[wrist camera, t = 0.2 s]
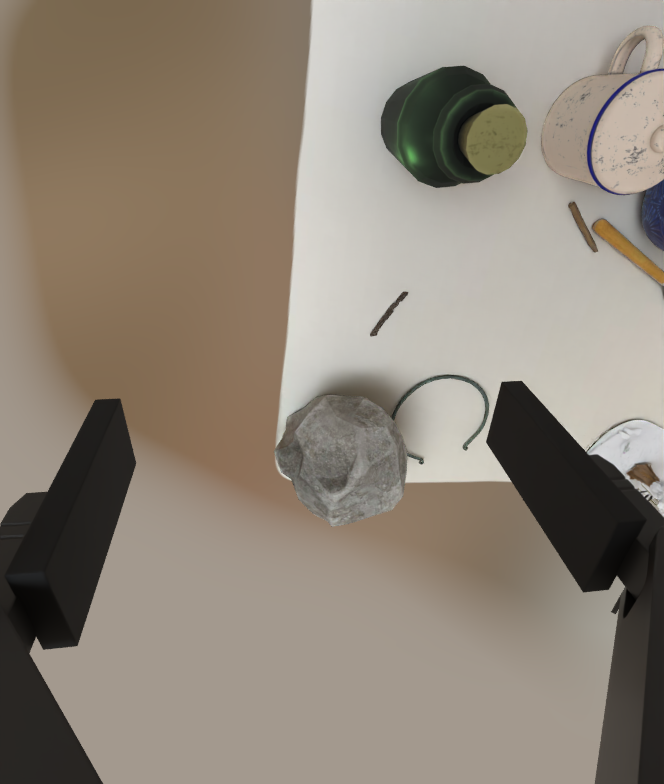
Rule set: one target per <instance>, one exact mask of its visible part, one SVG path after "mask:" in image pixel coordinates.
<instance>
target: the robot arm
mask: <svg viewBox="0 0 664 784" xmlns="http://www.w3.org/2000/svg"><path fill="white" fill-rule="evenodd" d="M486 443H487V444H488V446H489V447H490V449H491V450H492V452H493V454H494V455H495V457H496V458H497V460H498V461H499V463H500V464H501V466H502V467H503V469H504V471H505V472H506V474H507V475H508V477H509V478H510V480H511V481H512V483H513V484H514V486H515V488H516V489H517V490H518V492H519V494H520V495H521V497H522V498H523V500H524V501H525V503H526V504H527V506H528V507H529V509H530V511H531V512H532V514H533V515H534V517H535V518H536V520H537V521H538V523H539V525H540V526H541V528H542V529H543V531H544V532H545V534H546V535H547V537H548V539H549V540H550V542H551V543H552V545H553V546H554V548H555V549H556V551H557V552H558V553H559V556H560V557H561V559H562V560H563V562H564V563H565V565H566V566H567V568H568V569H569V571H570V573H571V574H572V575H573V577H574V579H575V580H576V582H577V583H578V585H579V586H580V588H581V590H582V591H583V592H591V591H600V590H609V588H610V587H611V585H612V583H613V581H614V579H615V577H616V576H618V577H619V579H620V580H621V581H622V583H623V584H624V585H625V588H624V590H623V592H622V593H621V595H620V597H619V599H618V601H617V602H616V604H615V606H614V608H613V610H612V611H611V612H612V613H614V614H616V613H617V611H618V609H619V613H618V620H617V627H616V635H615V642H614V649H613V656H612V663H611V670H610V679H609V685H608V692H607V699H606V706H605V714H604V721H603V728H602V735H601V742H600V750H599V757H598V764H597V771H596V778H595V784H664V517H663V516H662V515H661V514H660V513H659V512H658V511H657V510H656V509H655V508H654V507H653V506H652V504H651V503H650V502H649V501H648V500H647V499H646V498H645V497H644V496H643V495H642V494H641V493H640V492H639V491H638V490H637V489H635V487H634V485H633V484H632V483H631V482H630V481H629V480H628V479H625V476H624V475H623V474H622V473H621V472H620V471H619V470H618V469H617V467H616V466H615V465H614V464H612V463H610V462H609V461H607V460H606V459H604V458H603V457H601V456H600V455H598V454H593V455H588V454H587V453H586V452H585V450H584V449H583V448H582V447H581V446H580V445H579V444H578V443H577V442H576V440H575V439H574V438H573V437H572V436H571V435H570V434H569V433H568V432H567V431H566V429H565V428H564V427H563V426H562V425H561V424H560V423H559V422H558V421H557V419H556V418H555V417H554V416H553V415H552V414H551V413H550V412H549V411H548V409H547V408H546V407H545V406H544V405H543V404H542V403H541V402H540V401H539V400H538V398H537V397H536V396H535V395H534V394H533V393H532V392H531V391H530V390H529V388H528V387H527V386H526V385H525V384H524V383H523V382H522V381H510V382H502V383H501V387H500V391H499V395H498V398H497V402H496V406H495V410H494V414H493V418H492V422H491V425H490V429H489V433H488V437H487V441H486ZM135 466H136V461H135V457H134V453H133V448H132V444H131V440H130V436H129V432H128V428H127V424H126V420H125V416H124V412H123V408H122V404H121V400H120V399H102V400H95V401H94V403H93V405H92V407H91V409H90V411H89V413H88V415H87V417H86V419H85V421H84V423H83V425H82V427H81V428H80V430H79V432H78V434H77V436H76V438H75V440H74V442H73V444H72V446H71V448H70V450H69V452H68V454H67V455H66V457H65V459H64V461H63V463H62V465H61V467H60V469H59V471H58V473H57V475H56V477H55V479H54V480H53V483H52V484H51V487H50V488H49V490H48V492H38V493H26V494H25V495H24V496H23V497H22V498H20V499H19V500H18V501H17V502H16V503H15V504H14V505H13V506H12V507H10V509H9V510H8V512H7V514H6V515H5V517H4V519H3V520H2V522H1V526H0V784H103V783H102V781H101V779H100V778H99V776H98V774H97V772H96V770H95V769H94V767H93V765H92V763H91V762H90V760H89V758H88V756H87V755H86V753H85V751H84V749H83V747H82V746H81V744H80V742H79V740H78V739H77V737H76V735H75V733H74V732H73V730H72V728H71V726H70V725H69V723H68V721H67V719H66V718H65V716H64V714H63V712H62V710H61V709H60V707H59V705H58V704H57V702H56V700H55V698H54V696H53V695H52V693H51V691H50V689H49V688H48V686H47V684H46V682H45V681H44V679H43V677H42V675H41V674H40V672H39V670H38V668H37V666H36V665H35V663H34V662H33V659H32V658H31V656H30V654H29V653H30V650H31V648H32V645H33V643H34V640H35V638H36V637H37V639H38V640H39V642H40V644H41V646H42V648H43V649H44V650H45V649H53V648H63V647H72V646H77V645H78V642H79V640H80V636H81V633H82V630H83V627H84V624H85V621H86V618H87V615H88V612H89V608H90V605H91V602H92V599H93V596H94V593H95V590H96V587H97V584H98V580H99V577H100V574H101V571H102V568H103V565H104V562H105V559H106V556H107V552H108V549H109V546H110V543H111V540H112V537H113V534H114V531H115V528H116V525H117V522H118V518H119V515H120V512H121V509H122V506H123V503H124V500H125V497H126V494H127V490H128V487H129V484H130V481H131V478H132V475H133V472H134V468H135Z"/></svg>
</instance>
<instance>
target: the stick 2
mask: <svg viewBox="0 0 664 784" xmlns="http://www.w3.org/2000/svg"><path fill="white" fill-rule="evenodd" d="M569 208H570V209H571V211H572V214H573V217H574V219H575V220H576V223H577V224H578V226H579V228H580V230H581V232H582V233H583V235H584V237H585V239H586V241H587V243H588V245H589V246H590V247H591V249H592V250H593V252H598V250H597V247H596V244H595V242H594V240H593V238H592V236H591V234H590V232H589V230H588V228H587V227H586V225H585V223H584V221H583V218H582V217H581V214H580V212H579V210H578V208H577V205H576V203H575V202H572V203H570V204H569Z"/></svg>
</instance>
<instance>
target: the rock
mask: <svg viewBox="0 0 664 784" xmlns="http://www.w3.org/2000/svg"><path fill="white" fill-rule="evenodd" d="M274 453H275V456H276V459H277V462H278V464H279V467H280V470H281V472H282V473H283V474H285V475H286V476H288V477H289V478H290V479H291V480H292V482H293V485H294V488H295V491H296V493H297V496H298V499H299V500H300V501H301V502H302V503H303V504H304V505H305V506H306V507H307V508H308V509H309V510H310V511H311V512H312V513H313V514H315V515H316V516H318V517H320V518H322V519H324V520H326V521H328V522H329V524H330V525H331V526H339V525H345V524H349V523H353V522H356V521H359V520H362V519H365V518H367V517H371V516H374V515H377V514H381V513H384V512H387V511H390V510H392V509H393V507H395V505H396V504H397V503H398V502H399V500H400V499H401V498H402V497H403V492H404V485H405V478H406V471H407V449H406V446H405V444H404V441H403V438H402V436H401V434H400V432H399V430H398V428H397V426H396V424H395V422H394V421H393V420H392V418H391V417H390V416H389V415H388V414H387V413H386V412H385V411H384V409H383V408H381V407H379V406H378V405H376V404H375V403H373V402H372V401H370V400H368V399H367V398H365V397H349V396H339V395H330V394H329V395H324V396H320V397H316V398H315V399H314V400H312V401H311V402H310V403H309V404H308V405H307V406H306V407H304V408H303V409H302V410H300V411H298V412H296V413H294V414H293V415H291V416H289V417H287V423H286V431H285V433H284V435H283V438H282V440H281V441H280V443H279V444H278V446H277V447H276V449H275V451H274Z"/></svg>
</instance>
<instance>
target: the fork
mask: <svg viewBox="0 0 664 784" xmlns="http://www.w3.org/2000/svg"><path fill="white" fill-rule="evenodd" d="M593 230H594V231H595V233H596V234H598V235H599V236H600V237H601V238H603V239H604V240H605V241H606V242H608V243H609V244H610V245H611V246H613V247H614V248H615V249H617V250H618V251H619V252H620V253H622V254H623V255H624V256H625V257H627V258H628V259H629V260H630V261H632V262H633V263H634V264H635V265H637V266H638V267H639V268H641V269H642V270H643V271H644V272H646V273H647V274H648V275H649V276H651V277H652V278H653V279H654V280H656V281H657V282H658V283H659V284H661V285H662V286H663V287H664V272H663V271H662V270H661V269H660V268H659V267H658V266H656V265H655V264H654V263H653V262H652V261H651V260H650V259H649V258H648V257H646V256H645V255H644V254H643V253H642V252H641V251H640V250H639V249H638V248H636V247H635V246H634V245H633V244H632V243H631V242H630V241H629V240H628V239H626V238H625V237H624V236H623V235H622V234H621V233H620V232H619V231H618V230H616V229H615V228H614V227H613V226H612V225H611V224H610V223H609V222H608V221H606V220H605V219H600V220H598V221H597V222H596V223H595V224H594V226H593Z"/></svg>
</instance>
